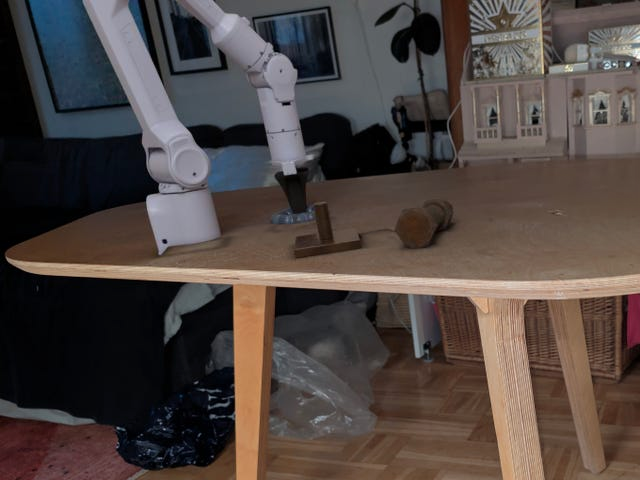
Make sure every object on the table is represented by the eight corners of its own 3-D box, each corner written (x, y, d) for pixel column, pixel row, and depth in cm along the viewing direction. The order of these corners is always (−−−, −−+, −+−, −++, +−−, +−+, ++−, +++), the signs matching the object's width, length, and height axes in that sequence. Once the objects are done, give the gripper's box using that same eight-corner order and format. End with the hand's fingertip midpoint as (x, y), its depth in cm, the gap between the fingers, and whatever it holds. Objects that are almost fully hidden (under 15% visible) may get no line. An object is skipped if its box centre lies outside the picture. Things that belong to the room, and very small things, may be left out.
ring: (270, 234, 114) (267, 219, 113) (273, 223, 123) (270, 209, 122) (331, 224, 116) (329, 210, 115) (330, 215, 125) (327, 201, 124)
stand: (296, 258, 96) (286, 213, 94) (297, 244, 105) (288, 202, 102) (361, 247, 98) (353, 203, 95) (357, 235, 106) (350, 194, 104)
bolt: (451, 233, 108) (423, 256, 94) (422, 219, 108) (390, 239, 95) (466, 199, 106) (439, 217, 92) (436, 184, 106) (405, 200, 92)
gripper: (307, 130, 111) (324, 215, 117) (307, 126, 124) (322, 202, 130) (262, 136, 110) (280, 222, 115) (267, 131, 123) (283, 208, 129)
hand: (300, 212), depth 122 cm, fingers closed on ring, 2 cm apart
